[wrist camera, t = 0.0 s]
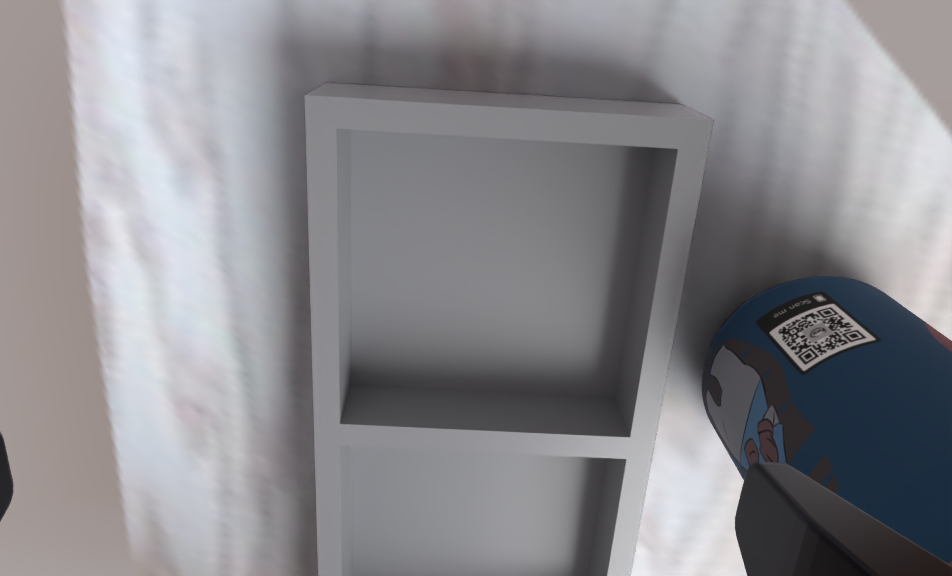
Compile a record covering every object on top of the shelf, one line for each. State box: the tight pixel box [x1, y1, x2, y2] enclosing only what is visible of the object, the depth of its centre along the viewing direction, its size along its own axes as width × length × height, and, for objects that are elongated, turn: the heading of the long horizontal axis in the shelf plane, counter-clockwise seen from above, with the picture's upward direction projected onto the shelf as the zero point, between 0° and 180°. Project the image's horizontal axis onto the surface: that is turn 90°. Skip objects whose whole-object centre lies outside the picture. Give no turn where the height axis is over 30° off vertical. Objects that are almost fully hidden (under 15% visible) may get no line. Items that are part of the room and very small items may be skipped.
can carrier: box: [304, 82, 714, 576], centre depth 24 cm, size 20×11×3 cm, turn 176°
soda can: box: [702, 276, 952, 566], centre depth 19 cm, size 7×7×12 cm
